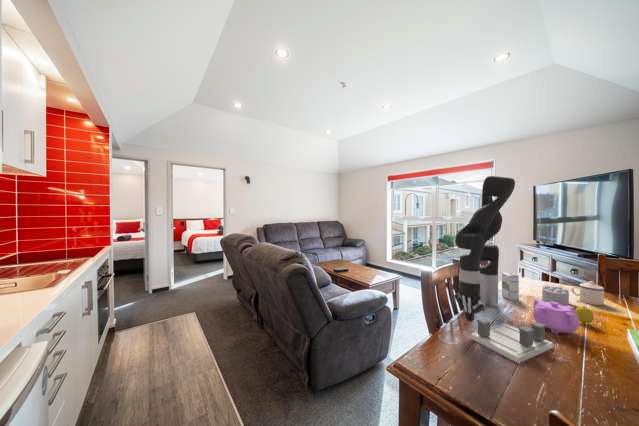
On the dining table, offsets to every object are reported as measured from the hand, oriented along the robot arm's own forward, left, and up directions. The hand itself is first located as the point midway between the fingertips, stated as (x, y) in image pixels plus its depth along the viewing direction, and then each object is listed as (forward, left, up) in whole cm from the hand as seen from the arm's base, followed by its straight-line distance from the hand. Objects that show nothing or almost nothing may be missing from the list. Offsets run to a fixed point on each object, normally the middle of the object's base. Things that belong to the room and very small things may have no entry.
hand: (469, 320), depth 95 cm
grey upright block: (+6, 0, -3) cm, 7 cm away
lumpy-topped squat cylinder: (-3, +76, -6) cm, 76 cm away
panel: (+11, +8, -6) cm, 15 cm away
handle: (+16, +16, -3) cm, 23 cm away
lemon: (+15, +56, -6) cm, 58 cm away
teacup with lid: (+4, +94, -6) cm, 94 cm away
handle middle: (+16, +8, -3) cm, 18 cm away
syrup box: (-16, +60, -6) cm, 62 cm away
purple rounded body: (+12, +38, -6) cm, 40 cm away
